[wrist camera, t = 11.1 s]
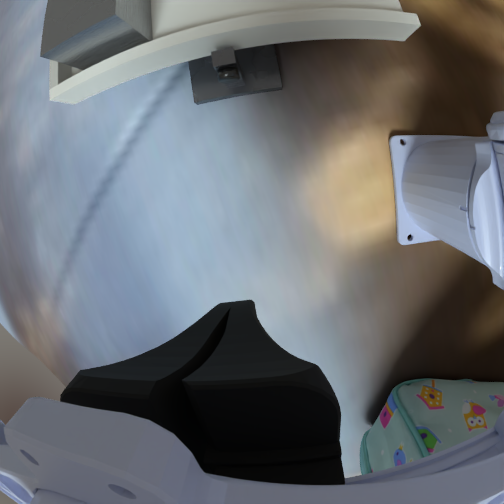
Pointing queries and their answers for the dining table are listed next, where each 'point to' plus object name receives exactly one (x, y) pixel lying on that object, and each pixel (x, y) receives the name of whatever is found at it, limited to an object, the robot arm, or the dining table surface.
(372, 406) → the dining table surface
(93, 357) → the dining table surface
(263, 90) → the beam stand
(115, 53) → the block
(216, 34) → the balance beam
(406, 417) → the lunch box
